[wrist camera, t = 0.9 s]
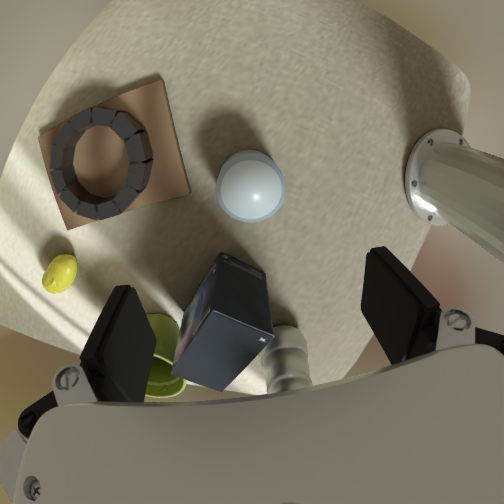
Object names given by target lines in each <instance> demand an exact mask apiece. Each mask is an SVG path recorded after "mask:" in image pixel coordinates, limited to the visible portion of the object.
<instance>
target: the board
mask: <svg viewBox="0 0 504 504" xmlns="http://www.w3.org/2000/svg"><path fill="white" fill-rule="evenodd" d="M94 107H106V108H113V109H119V110H125V111H126V112H129V113H130V114H131V115H132V116H133V117H134V118H135V119H136V120H137V121H138V122H139V123H141V124H142V125H143V126H144V127H145V128H146V129H145V130H144V131H143V132H148V136H149V140H150V144H151V147H152V151H153V155H154V156H153V157H151V158H149V159H153V160H154V161H153V165H152V169H151V174H150V178H149V183H148V185H147V186H146V188H145V190H144V191H143V192H142V193H141V194H140V195H139V196H138V197H137V199H136V200H135V201H134V202H133V203H132V204H131V205H130V206H129V207H128V208H127V209H126V210H125V211H124V212H126V211H130V210H133V209H137V208H140V207H144V206H147V205H151V204H155V203H158V202H162V201H166V200H170V199H173V198H177V197H181V196H185V195H189V194H190V193H191V189H190V185H189V182H188V178H187V174H186V170H185V167H184V163H183V159H182V155H181V151H180V147H179V143H178V139H177V135H176V131H175V127H174V123H173V118H172V114H171V110H170V106H169V101H168V97H167V92H166V88H165V83H164V81H163V80H159V81H156V82H153V83H150V84H147V85H144V86H142V87H139V88H136V89H134V90H131V91H129V92H126V93H124V94H121V95H119V96H116V97H114V98H112V99H109V100H107V101H105V102H103V103H100V104H98V105H96V106H94ZM92 108H93V107H92ZM68 120H69V119H68ZM66 121H67V120H66ZM66 121H65V122H63V123H61V124H59V125H57V126H56V127H54V128H52V129H51V130H49V131H47V132H46V133H44V134H42V135H41V136H39V137H38V140H39V144H40V148H41V152H42V156H43V160H44V163H45V167H46V170H47V174H48V177H49V180H50V183H51V187H52V190H53V193H54V196H55V199H56V201H57V204H58V207H59V210H60V213H61V215H62V218H63V220H64V223H65V226H66V228H67V230H70V229H73V228H76V227H79V226H82V225H85V224H88V223H91V222H94V221H97V220H93V219H90V218H86V217H83V216H79V215H76V213H77V211H76V212H75V213H73V212H72V211H71V210H70V208H69V207H68V206H67V205H66V204H65V203H64V202H63V201H62V200H61V199H60V198H59V195H60V194H61V193H59V194H57V193H56V190H55V187H54V184H53V180H52V177H51V174H50V171H52V170H54V169H50V160H51V152H52V145H53V144H55V142H54V140H55V138H56V136H57V135H58V133H59V132H60V130H61V129H62V127H63V126H64V124H65V123H66ZM129 164H130V162H129V158H128V155H127V151H126V147H125V143H124V141H123V140H122V139H121V138H120V137H119V136H118V135H117V134H116V133H115V132H114V131H113V130H112V129H111V128H110V127H106V126H101V125H96V126H94V127H92V128H90V129H88V130H86V131H85V133H84V134H83V136H82V137H81V138H80V140H79V141H78V143H77V144H76V147H75V154H74V160H73V165H74V169H75V172H76V175H77V179H78V181H79V182H80V184H81V185H82V186H83V187H84V188H85V189H86V190H87V191H88V192H89V193H90V194H94V195H97V196H101V197H105V198H107V197H110V196H113V195H116V194H118V193H119V192H120V190H121V189H122V188H123V187H124V186H125V184H126V179H127V174H128V169H129ZM122 213H123V212H122ZM98 220H99V219H98Z"/></svg>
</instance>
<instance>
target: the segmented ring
mask: <svg viewBox="0 0 504 504" xmlns="http://www.w3.org/2000/svg"><path fill="white" fill-rule="evenodd" d="M96 125H101V126H106V127H110V128H111V129H112V130H113V131H114V132H115V133H116V134H117V135H118V136H119V137H120V138H121V139H122V140H123V141H124V143H125V147H126V151H127V155H128V158H129V162H130V164H129V169H128V174H127V179H126V184H125V186H124V187H123V188H122V189H121V190H120V192H119V193H118V194H116V195H113V196H110V197H107V198H105V197H101V196H97V195H94V194H90V193H89V192H88V191H87V190H86V189H85V188H84V187H83V186H82V185H81V184H80V182H79V181H78V179H77V175H76V172H75V169H74V165H73V160H74V154H75V147H76V144H77V143H78V141H79V140H80V138H81V137H82V136H83V134H84V133H85V131H86V130H88V129H90V128H92V127H94V126H96ZM145 129H146V128H145V127H144V126H143V125H142V124H141V123H139V122H138V121H137V120H136V119H135V118H134V117H133V116H132V115H131V114H130V113H129V112H126V111H125V110H119V109H113V108H106V107H93V108H89V109H86V110H84V111H82V112H81V113H79V114H77V115H75V116H73V117H71V118H69V120H67V121H66V123H65V124H64V126H63V127H62V129H61V130H60V132H59V133H58V135H57V136H56V138H55V140H54V142H55V144H53V145H52V152H51V160H50V169H54V170H52V171H50V174H51V177H52V180H53V184H54V187H55V190H56V193H57V194H59V193H61V194H60V195H59V198H60V199H61V200H62V201H63V202H64V203H65V204H66V205H67V206H68V207H69V208H70V210H71V211H72V212H73V213H75V212H76V211H77V213H76V215H79V216H83V217H86V218H90V219H93V220H98V219H99V220H103V219H106V218H109V217H113V216H116V215H119V214H121V213H122V212H124V211H125V210H126V209H127V208H128V207H129V206H130V205H131V204H132V203H133V202H134V201H135V200H136V199H137V197H138V196H139V195H140V194H141V193H142V192H143V191H144V190H145V188H146V186H147V185H148V183H149V178H150V174H151V169H152V165H153V161H154V160H153V159H149V158H151V157H153V156H154V155H153V151H152V147H151V144H150V140H149V136H148V132H143V131H144V130H145Z"/></svg>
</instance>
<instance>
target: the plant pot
mask: <svg viewBox="0 0 504 504" xmlns="http://www.w3.org/2000/svg"><path fill="white" fill-rule="evenodd" d="M146 316H147V318H148V321H149V323H150V325H151V327H152V329H153V332H154V334H155V336H156V348H155V352H154V356H153V360H152V365H151V369H150V374H149V379H148V383H147V388H146V393H145V396H149V397H155V398H167V397H171V396H175V395H178V394H179V393H181V392H182V391H183V390H184V388H185V386H186V380H185V379H183V378H180V377H177V376H175V375H173V374H171V370H172V365H173V360H174V355H175V351H176V346H177V342H178V337H179V332H180V329H179V327H178V324H177V323H176V322H175V321H174V320H173V319H172V318H170V317H168V316H166V315H164V314H160V313H156V314H146Z"/></svg>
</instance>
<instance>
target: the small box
mask: <svg viewBox="0 0 504 504" xmlns="http://www.w3.org/2000/svg"><path fill="white" fill-rule="evenodd" d="M273 338H274V332H273V326H272V319H271V312H270V304H269V299H268V291H267V283H266V274H265V273H263V272H262V271H259V270H257V269H256V268H253V267H251V266H249V265H246V264H245V263H243V262H241V261H239V260H237V259H236V258H234V257H231V256H229V255H227V254H224V253H222V252H220V254H219V255H218V256H217V258H216V260H215V261H214V263H213V265H212V266H211V268H210V270H209V271H208V273H207V275H206V276H205V278H204V280H203V281H202V283H201V285H200V286H199V288H198V289H197V291H196V293H195V295H194V296H193V298H192V300H191V301H190V303H189V305H188V306H187V308H186V310H185V311H184V315H183V319H182V324H181V328H180V332H179V337H178V342H177V346H176V351H175V355H174V360H173V365H172V370H171V374H173V375H175V376H177V377H180V378H183V379H185V380H188V381H191V382H194V383H196V384H199V385H202V386H205V387H208V388H211V389H214V390H217V391H220V392H222V391H223V390H224V389H225V388H226V387H227V386H228V385H229V384H230V383H231V382H232V381H233V380H234V379H235V378H236V377H237V376H238V375H239V374H240V373H241V372H242V371H243V370H244V369H245V368H246V367H247V366H248V365H249V363H250V362H251V361H252V360H253V359H254V358H255V357H256V356H257V355H258V354H259V353H260V352H261V351H262V350H263V349H264V347H265V346H266V345H267V344H268V343H269V342H270V341H271V340H272V339H273Z"/></svg>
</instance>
